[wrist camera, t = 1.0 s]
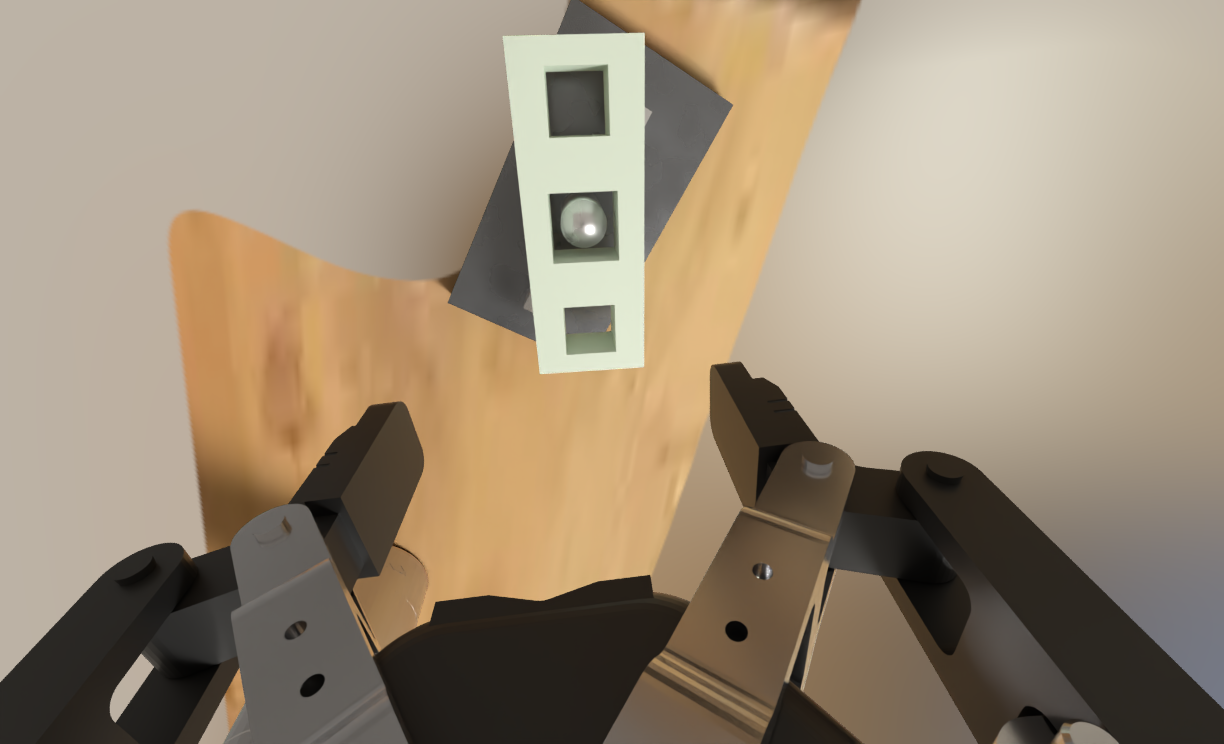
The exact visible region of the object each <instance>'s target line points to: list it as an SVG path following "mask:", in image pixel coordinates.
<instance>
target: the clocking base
mask: <svg viewBox="0 0 1224 744" xmlns="http://www.w3.org/2000/svg"><path fill="white" fill-rule="evenodd" d="M612 33H626V32H625V31H623V30H622V29H620V28H619V27H617V26H616V25H615V24H613V23H612V22H610V21H609V20H607V19H606V18H604V17H603V16H601V15H600V14H598V13H597V12H595V11H594V10H592V9H591V8H589V7H588V6H586V5H585V4H584V3H582V2H581V1H579V0H571V1H570V4H569V6H568V8H567V11H566V13H565V16H564V18H563V21H562V23H561V26H560V28H559V31H558V33H557V35H564V34H612ZM546 83H547V96H548V108H549V121H550V134H551V136H571V135H600V134H605V113H604V81H603V71H567V72H546ZM732 106H733V104H731V103H730V102H728V101H727V100H725V99H724V98H722V97H721V96H719V95H718V94H716V93H715V92H713V91H712V90H711V89H709V88H708V87H706V86H705V85H703V84H702V83H700V82H699V81H697V80H696V79H694V78H693V77H691V76H690V75H688V74H687V73H685V72H684V71H682V70H681V69H680V68H678V67H677V66H675V65H674V64H672V63H671V62H669V61H668V60H666V59H665V58H663V57H662V56H660V55H659V54H657V53H656V52H654V51H653V50H651V49H650V48H648V47H647V46H646V45H645V140H644V262H645V261H646V259H647V257H648V255H649V254H650V252H651V250H652V248H653V246H654V245H655V243H656V241H657V239H658V238H659V236H660V234H661V232H662V230H663V229H664V227H665V225H666V223H667V222H668V220H669V218H670V216H671V214H672V213H673V211H674V209H675V207H676V206H677V204H678V202H679V200H680V198H681V197H682V195H683V193H684V191H685V190H686V188H687V186H688V184H689V182H690V181H691V179H692V177H693V175H694V174H695V172H696V170H697V168H698V167H699V165H700V163H701V161H702V159H703V158H704V156H705V154H706V152H707V151H708V149H709V147H710V145H711V143H712V142H713V140H714V138H715V136H716V135H717V133H718V131H719V129H720V127H721V126H722V124H723V122H724V120H725V119H726V117H727V115H728V113H729V111H730V110H731V108H732ZM550 204H551V216H552V228H553V240H554V250H565V249H585V248H605V247H614V229H613V191H602V192H579V193H555V194H550ZM448 303H449V304H452V305H454V306H456V307H459V308H461V309H463V310H465V311H468V312H470V313H472V314H475V315H477V316H479V317H481V318H484V319H486V320H488V321H490V322H493V323H495V324H497V325H500V326H502V327H504V328H506V329H509V330H511V331H513V332H516V333H518V334H520V335H522V336H525V337H527V338H529V339H532V340H534V341H536V334H535V325H534V316H533V307H532V298H531V289H530V280H529V271H528V262H527V253H526V244H525V235H524V226H523V217H522V208H521V199H520V190H519V181H518V172H517V163H516V154H515V145H514V141H513V144H512V146H511V149H510V151H509V153H508V156H507V158H506V161H505V164H504V166H503V168H502V171H501V173H500V176H499V178H498V180H497V183H496V185H495V188H494V190H493V193H492V195H491V198H490V200H489V203H488V205H487V207H486V210H485V212H484V215H483V217H482V220H481V222H480V225H479V227H478V230H477V232H476V234H475V237H474V240H473V242H472V244H471V247H470V249H469V252H468V254H467V257H466V259H465V261H464V264H463V266H462V269H461V271H460V274H459V276H458V279H457V281H456V284H455V286H454V288H453V291H452V293H451V296H450V298H449V301H448ZM564 311H565V324H566V334H577V333H593V332H606V330H607V328H608V326H609V325H610V323H611V305H604V306H587V307H569V308H564Z"/></svg>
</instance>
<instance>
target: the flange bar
mask: <svg viewBox="0 0 1224 744" xmlns="http://www.w3.org/2000/svg"><path fill="white" fill-rule="evenodd" d="M502 37H503V46H504V54H505V64H506V73H507V82H508V91H509V100H510V108H511V118H512V126H513V136H514V145H515V154H516V163H517V172H518V181H519V190H520V199H521V208H522V217H523V226H524V235H525V244H526V253H527V262H528V271H529V280H530V289H531V298H532V307H533V316H534V325H535V334H536V343H537V352H538V361H539V370H540V374H549V373H564V372H579V371H594V370H609V369H625V368H640V367H644V140H645V33H612V34H564V35H520V36H519V35H516V36H502ZM567 71H603V81H604V113H605V134H600V135H571V136H551V134H550V121H549V108H548V96H547V83H546V72H567ZM602 191H613V229H614V247H605V248H585V249H565V250H554V240H553V228H552V216H551V204H550V194H555V193H579V192H602ZM604 305H611V331H609V332H593V333H577V334H566V324H565V311H564V308H569V307H587V306H604Z"/></svg>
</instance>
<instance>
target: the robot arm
mask: <svg viewBox="0 0 1224 744" xmlns="http://www.w3.org/2000/svg"><path fill="white" fill-rule="evenodd" d="M710 421H711V428H712V432H713V436H714V439H715V441H716V444H717V446H718V448H719V451H720V453H721V455H722V458H723V460H724V462H725V465H726V467H727V469H728V472H729V474H730V476H731V479H732V481H733V483H734V486H735V488H736V491H737V493H738V495H739V498H740V500H741V502H742V504H743V508H742V509H741V511H740V512H739V514H738V516H737V517H736V519H735V521H734V523H733V525H732V527H731V528H730V530H729V532H728V534H727V536H726V537H725V539H724V541H723V543H722V545H721V547H720V548H719V550H718V552H717V554H716V556H715V558H714V560H713V561H712V563H711V565H710V567H709V569H708V571H707V572H706V574H705V576H704V578H703V580H702V581H701V583H700V585H699V587H698V589H697V591H696V592H695V594H694V596H693V598H692V600H691V602H689V601H687V600H684V599H682V598H679V597H676V596H672V595H668V594H663V593H657V592H653V590H652V584H651V577H650V575H646V576H638V577H630V578H622V579H614V580H606V581H598V582H595V583H592V584H590V585H587V586H584V587H581V588H579V589H576V590H573V591H570V592H567V593H565V594H562V595H559V596H556V597H554V598H551V599H548V600H545V601H533V600H525V599H516V598H507V597H499V596H490V595H487V596H479V597H471V598H463V599H455V600H447V601H439V602H436V603H435V606H434V610H433V613H432V617H431V620H430V622H427V623H425V624H422V625H420V626H418V627H416V625H417V622H418V618H419V615H420V611H421V608H422V604H423V601H424V598H425V594H426V591H427V586H428V576H427V573H426V571H425V568H424V567H423V565H422V564H421V563H420V562H419V560H417V559H416V558H415V557H414V556H412V555H411V554H410V553H408V552H406V551H404V550H402V549H400V548H397V547H395V546H392V545H393V542H394V540H395V538H396V535H397V533H398V530H399V528H400V526H401V523H402V521H403V518H404V516H405V513H406V511H407V509H408V506H409V504H410V501H411V499H412V497H413V494H414V492H415V489H416V487H417V484H418V482H419V480H420V477H421V475H422V472H423V467H424V456H423V450H422V447H421V444H420V442H419V439H418V436H417V433H416V431H415V428H414V425H413V422H412V420H411V417H410V414H409V411H408V409H407V407H406V405H405V404H404V403H403V402H392V403H383V404H375V405H371V406H369V407H368V409H367V410H366V412H365V413H364V415H363V416H362V417H361V419H360V420H359V422H358V423H357V425H356V426H351V427H350V428H349V429H347V430H346V431H345V432H344V433H342V434H341V435H340V436H338V437H337V438H336V439H335V440H334V441H333V442H332V444H331V445H330V447H329V448H328V449H327V451H326V452H325V456H322V458H321V459H320V461H319V462H318V463H317V465H316V466H317V467H316V468H314V469H313V470H312V472H311V473H310V474H309V476H308V477H307V479H306V480H305V481H304V483H303V484H302V486H301V487H300V488H299V490H298V491H297V492H296V494H295V495H294V497H293V498H292V499H291V501H290V502H289V504H287V505H282V506H279V507H276V508H273V509H270V510H268V511H266V512H264V513H262V514H260V515H258V516H257V517H255V518H254V519H252V520H251V521H249V522H248V523H247V524H246V525H244V526H243V527H242V528H241V529H240V530H239V531H238V532H237V534H236V535H235V536H234V538H233V540H232V542H231V545H230V546H228V547H225V548H222V549H219V550H216V551H213V552H210V553H207V554H204V555H201V556H198V557H195V558H192V559H191V558H190V556H189V555H188V554H187V552H186V551H185V550H184V548H183V547H182V546H181V545H179V544H177V543H163V544H158V545H154V546H151V547H148V548H146V549H143V550H141V551H138V552H136V553H134V554H132V555H130V556H129V557H127V558H125V559H124V560H122V561H120V562H119V563H117V564H116V565H114V566H113V567H111V568H110V569H109V570H108V571H106V572H105V573H104V574H103V575H102V576H101V577H100V578H99V579H98V580H97V581H96V582H95V583H94V584H93V585H92V586H91V587H90V588H89V589H88V590H87V592H86V593H84V594H83V596H82V597H81V598H80V599H79V600H78V601H77V602H76V603H75V604H74V605H73V606H72V607H71V608H70V609H69V611H68V612H66V614H65V615H64V616H63V617H62V618H61V619H60V620H59V621H58V622H57V623H56V624H55V625H54V626H53V627H52V628H51V629H50V630H49V632H48V633H47V634H46V635H45V636H44V637H43V638H42V639H41V640H40V641H39V642H38V643H37V644H36V645H35V646H34V647H33V648H32V649H31V651H30V652H29V653H28V654H27V655H26V656H25V657H24V658H23V659H22V660H21V661H20V662H19V663H18V664H17V665H16V666H15V668H14V669H13V670H12V671H11V672H10V673H9V674H8V675H7V676H6V677H5V678H4V679H3V680H2V681H1V682H0V744H198V743H199V741H200V739H201V737H202V735H203V734H204V732H205V730H206V728H207V726H208V724H209V722H210V721H211V719H212V717H213V715H214V713H215V711H216V709H217V708H218V706H219V704H220V702H221V700H222V698H223V697H224V695H225V693H226V691H227V689H228V687H229V686H230V684H231V682H232V680H233V678H234V676H235V674H236V673H237V671H238V669H239V668H240V674H241V679H242V685H243V691H244V697H245V704H244V706H243V708H242V710H241V712H240V713H239V715H238V717H237V719H236V721H235V723H234V724H233V726H232V728H231V730H230V732H229V734H228V735H227V737H226V739H225V741H224V743H223V744H864V743H862V742H861V741H860V740H859V739H858V738H856V737H855V736H854V735H853V734H852V733H851V732H850V731H848V730H847V729H846V728H845V727H843V725H841V724H840V723H839V722H838V721H837V720H835V719H834V718H833V717H832V716H831V715H830V714H828V713H827V712H826V711H825V710H824V709H823V708H821V707H820V706H819V705H818V704H817V703H815V702H814V701H813V700H812V699H811V698H810V697H809V696H807V695H806V694H805V693H804V692H803V689H804V685H805V682H806V678H807V674H808V670H809V666H810V662H811V658H812V653H813V649H814V645H815V641H816V637H817V634H818V631H819V627H820V624H821V620H822V617H823V613H824V610H825V607H826V603H827V600H828V596H829V593H830V590H831V586H832V583H833V579H834V576H835V572H836V569H841V570H848V571H854V572H861V573H867V574H873V575H880V576H881V577H882V579H883V581H884V582H885V584H886V586H887V587H888V589H889V591H890V593H891V594H892V596H893V598H894V600H895V601H896V603H897V605H898V606H899V608H900V610H901V612H902V613H903V615H904V617H905V619H906V620H907V622H908V624H909V625H910V627H911V629H912V631H913V632H914V634H915V636H916V637H917V639H918V641H919V643H920V644H921V646H922V648H923V649H924V651H925V653H926V655H927V656H928V658H929V660H930V662H931V663H932V665H933V667H934V668H935V670H936V672H937V674H938V675H939V677H940V679H941V681H942V682H943V684H944V686H945V687H946V689H947V691H948V692H949V694H950V696H951V697H952V699H953V701H954V703H955V705H956V706H957V708H958V710H959V712H960V713H961V715H962V717H963V718H964V720H965V722H966V723H967V725H968V727H969V729H970V730H971V732H972V734H973V736H974V737H975V739H976V741H977V742H978V744H1224V709H1223V708H1222V707H1221V706H1220V705H1219V704H1217V702H1216V701H1215V700H1214V699H1212V697H1210V696H1209V694H1207V693H1206V692H1205V691H1204V690H1203V689H1202V688H1201V687H1200V686H1199V685H1198V684H1197V683H1196V682H1195V681H1194V680H1193V679H1192V678H1191V677H1190V676H1189V675H1188V674H1187V673H1186V672H1185V671H1184V670H1183V669H1182V668H1181V667H1180V666H1179V665H1178V664H1177V663H1176V662H1175V661H1174V660H1173V659H1172V658H1171V657H1169V655H1168V654H1167V653H1166V652H1165V651H1163V649H1162V648H1161V647H1160V646H1159V645H1157V644H1156V643H1155V642H1154V641H1153V640H1152V639H1151V638H1150V637H1149V636H1148V635H1147V634H1146V633H1145V632H1144V631H1143V630H1142V629H1141V628H1140V627H1139V626H1138V625H1137V624H1136V623H1135V622H1134V621H1133V620H1132V619H1131V618H1130V617H1129V616H1128V615H1127V614H1126V613H1125V612H1124V611H1123V610H1122V609H1121V608H1120V607H1119V606H1118V605H1117V604H1116V603H1115V602H1114V601H1113V600H1112V599H1111V598H1109V597H1108V595H1107V594H1106V593H1105V592H1103V591H1102V590H1101V589H1100V588H1099V587H1098V586H1097V585H1096V584H1095V583H1094V582H1093V581H1092V580H1091V579H1090V578H1089V577H1088V576H1087V575H1086V574H1085V573H1084V572H1083V571H1082V570H1081V569H1080V568H1079V567H1078V566H1077V565H1076V564H1075V563H1074V562H1073V561H1072V560H1071V559H1070V558H1069V557H1068V556H1067V555H1066V554H1065V553H1064V552H1063V551H1062V550H1061V549H1060V548H1059V547H1058V546H1057V545H1056V544H1055V543H1053V542H1052V541H1051V540H1050V539H1049V538H1048V537H1047V536H1046V535H1045V534H1044V533H1043V532H1042V531H1041V530H1040V529H1039V528H1038V527H1037V526H1036V525H1035V524H1034V523H1033V522H1032V521H1031V520H1030V519H1029V518H1028V517H1027V516H1026V515H1025V514H1024V513H1023V512H1022V511H1021V510H1020V509H1019V508H1018V507H1017V506H1016V505H1015V504H1014V503H1013V502H1012V501H1011V500H1010V499H1009V498H1008V497H1007V496H1006V495H1005V494H1004V493H1003V492H1001V491H1000V489H999V488H997V487H996V486H995V485H994V484H993V483H992V482H991V481H990V480H989V479H988V478H987V477H986V476H985V475H984V474H983V473H982V472H981V471H980V470H979V469H978V468H976V467H975V466H973V465H972V464H971V463H969V462H967V461H965V460H963V459H960V458H958V457H956V456H953V455H949V454H945V453H941V452H933V451H922V452H916V453H912V454H910V455H908V456H906V457H905V458H904V459H903V461H902V463H901V467H900V471H894V470H885V469H874V468H866V467H860V466H855V464H854V462H853V460H852V459H851V457H850V456H849V455H848V454H847V453H845V452H844V451H842V450H841V449H839V448H837V447H835V446H833V445H830V444H827V443H823V442H819V441H818V440H817V438H816V437H815V436H814V434H813V433H812V432H811V430H810V429H809V427H808V426H807V425H806V423H805V422H804V421H803V419H802V418H801V417H800V415H799V414H798V412H797V411H795V410H794V407H793V406H792V404H791V403H790V402H789V401H787V397H786V396H785V395H784V393H783V392H782V391H781V389H780V388H779V387H778V386H776V385H775V384H773V383H771V382H770V381H768V380H766V379H765V378H755V379H752V378H751V376H750V374H749V373H748V371H747V370H746V368H745V367H744V365H743V364H742V363H741V362H732V363H724V364H715V365H712V366H711V369H710ZM140 654H142V655H143V656H144V657H145V658H146V659H147V660H148V661H149V662H150V663H151V664H152V665H153V666H154V668H153V670H152V671H151V673H150V674H149V675H148V677H147V678H146V680H145V681H144V683H143V684H142V685H141V687H140V688H139V690H138V691H137V693H136V694H135V696H134V697H133V698H132V700H131V701H130V703H129V704H128V706H127V707H126V709H125V710H124V711H123V713H122V714H121V716H120V717H119V719H118V720H117V722H116V723H115V722H114V721H113V720H112V718H111V716H110V701H111V698H112V695H113V692H114V690H115V689H116V687H117V685H118V684H119V683H120V681H121V680H122V678H123V677H124V676H125V674H126V673H127V672H128V670H129V669H130V668H131V666H132V665H133V664H134V662H135V661H136V660H137V658H138V657H139V655H140Z"/></svg>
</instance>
